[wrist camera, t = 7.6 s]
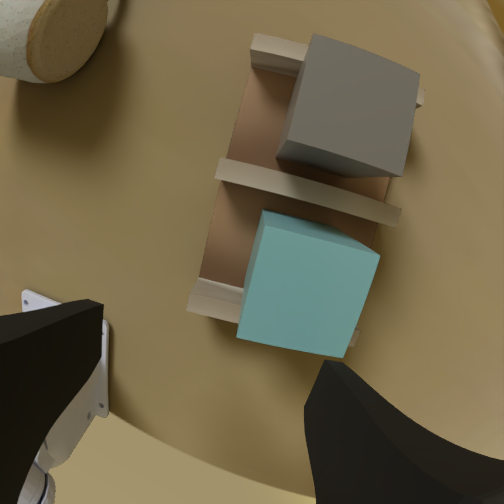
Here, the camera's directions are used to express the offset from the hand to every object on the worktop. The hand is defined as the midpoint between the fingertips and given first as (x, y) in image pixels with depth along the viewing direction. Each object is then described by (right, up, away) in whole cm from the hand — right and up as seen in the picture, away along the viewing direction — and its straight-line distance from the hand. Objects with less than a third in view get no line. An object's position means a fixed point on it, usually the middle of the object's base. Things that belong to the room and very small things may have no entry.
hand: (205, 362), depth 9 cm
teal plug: (+3, +3, +8) cm, 9 cm away
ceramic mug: (-12, +20, +6) cm, 24 cm away
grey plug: (+5, +10, +6) cm, 13 cm away
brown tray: (+4, +7, +8) cm, 11 cm away
